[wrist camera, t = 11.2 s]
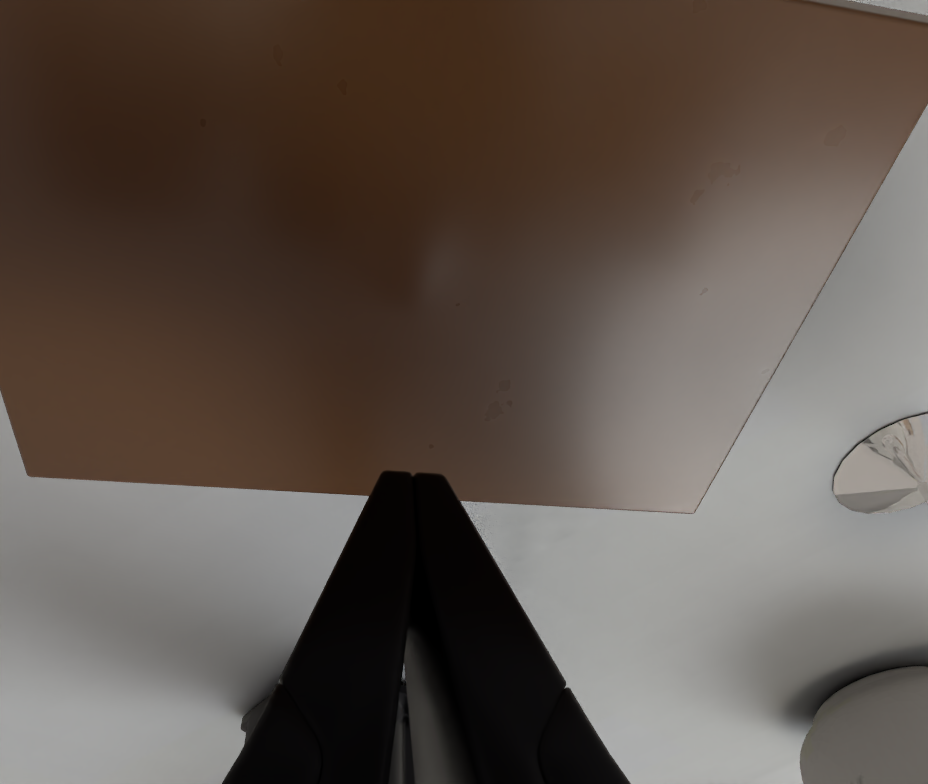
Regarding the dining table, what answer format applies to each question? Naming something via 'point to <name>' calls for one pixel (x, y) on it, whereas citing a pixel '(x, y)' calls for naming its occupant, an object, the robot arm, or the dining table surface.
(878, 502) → the wineglass
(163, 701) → the dining table surface
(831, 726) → the teacup
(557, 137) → the lid
